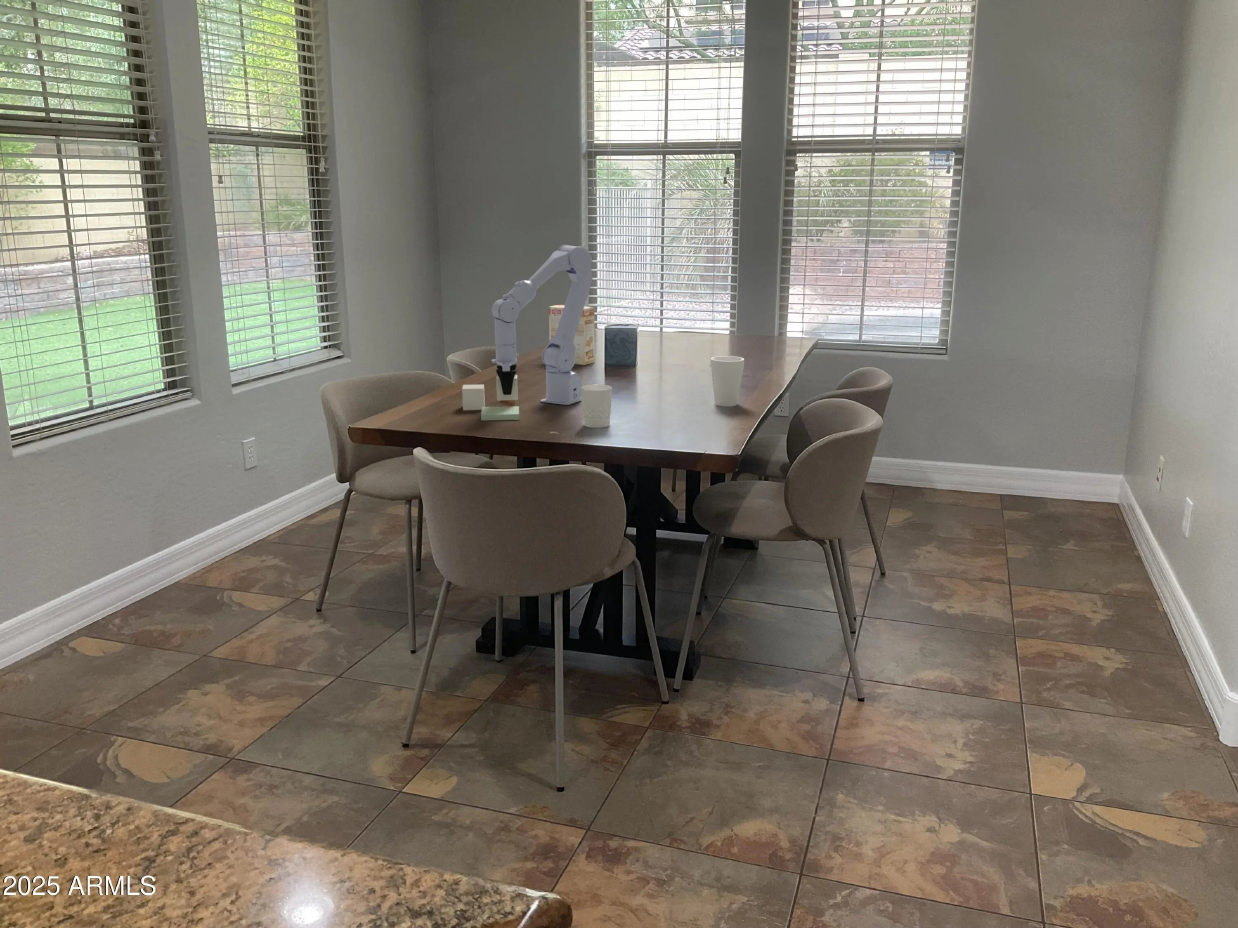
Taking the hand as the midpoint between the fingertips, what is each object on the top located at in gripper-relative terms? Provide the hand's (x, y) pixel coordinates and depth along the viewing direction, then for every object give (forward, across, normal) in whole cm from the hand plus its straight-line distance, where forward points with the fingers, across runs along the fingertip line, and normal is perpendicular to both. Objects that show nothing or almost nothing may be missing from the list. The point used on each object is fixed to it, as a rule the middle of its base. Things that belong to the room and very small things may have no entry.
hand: (507, 392), depth 279 cm
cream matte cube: (+2, 0, 0) cm, 2 cm away
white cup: (+4, +24, +23) cm, 34 cm away
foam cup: (+5, +2, +62) cm, 62 cm away
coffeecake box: (+5, -73, +22) cm, 76 cm away
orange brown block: (+4, 0, 0) cm, 4 cm away
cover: (+4, 0, -9) cm, 10 cm away
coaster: (+4, +11, -2) cm, 12 cm away
